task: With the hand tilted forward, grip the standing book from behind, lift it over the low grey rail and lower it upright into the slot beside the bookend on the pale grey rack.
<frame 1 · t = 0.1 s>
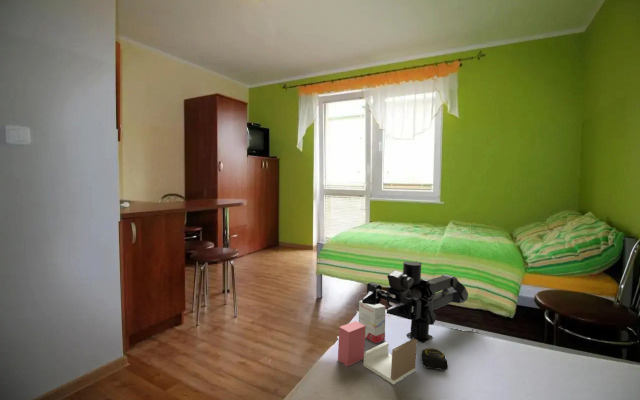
hand: (374, 306, 91), 17 cm above the table, fingers open, 9 cm apart
book: (350, 359, 92), on the table
ink box: (370, 337, 107), on the table
tape measure: (434, 367, 90), on the table
book rack: (389, 368, 88), on the table
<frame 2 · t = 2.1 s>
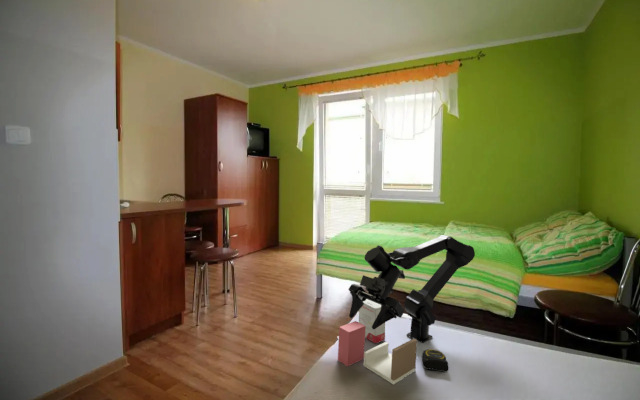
hand: (360, 322, 94), 10 cm above the table, fingers open, 9 cm apart
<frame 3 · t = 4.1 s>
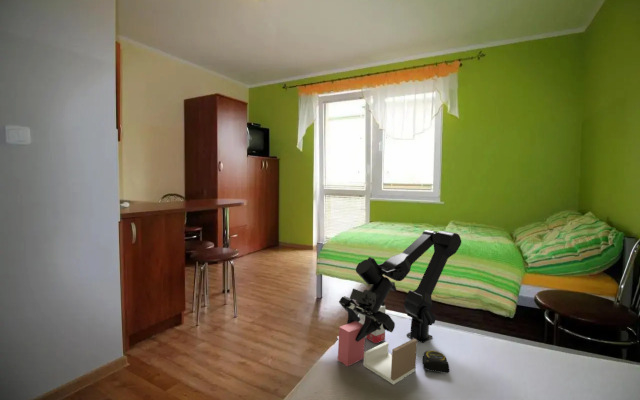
hand: (351, 337, 92), 7 cm above the table, fingers closed on book, 4 cm apart
book: (350, 359, 92), on the table, touching gripper
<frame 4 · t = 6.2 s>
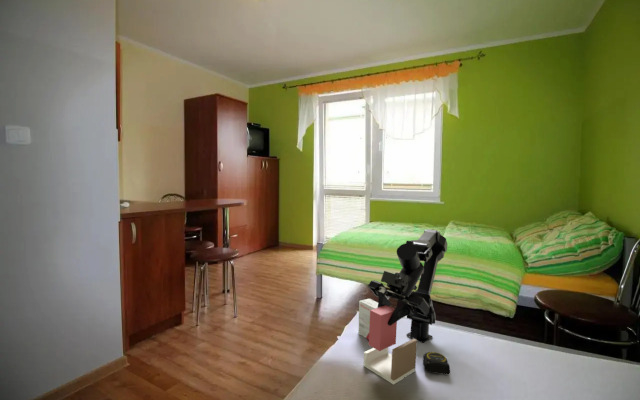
hand: (382, 321, 88), 13 cm above the table, fingers closed on book, 4 cm apart
book: (382, 344, 88), point 7 cm above the table, touching gripper
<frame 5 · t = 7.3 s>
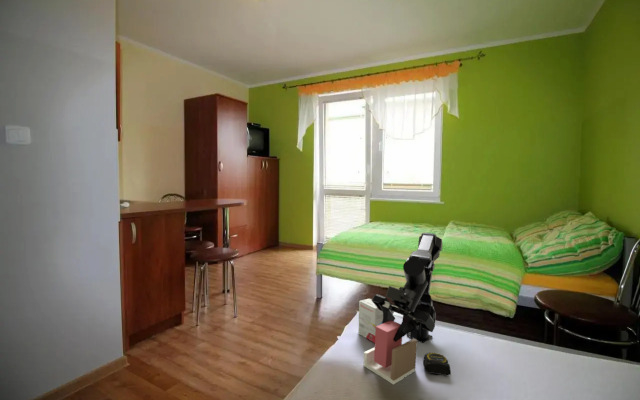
hand: (387, 337, 87), 9 cm above the table, fingers closed on book, 4 cm apart
book: (387, 360, 88), point 3 cm above the table, touching gripper
when the fingers open (9 cm above the table, at t = 8.1 s): book drops 1 cm, resting on book rack.
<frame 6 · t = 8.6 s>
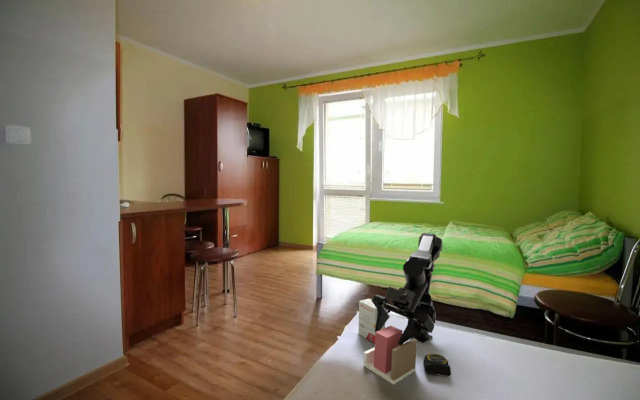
hand: (387, 338, 87), 9 cm above the table, fingers open, 8 cm apart
book: (387, 365, 88), point 1 cm above the table, touching book rack
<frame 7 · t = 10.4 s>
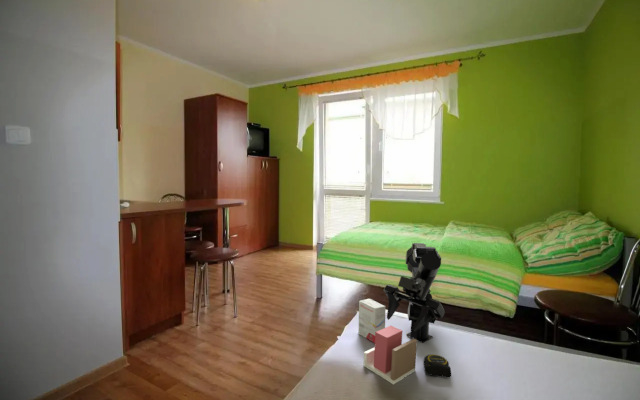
hand: (400, 324, 93), 11 cm above the table, fingers open, 9 cm apart
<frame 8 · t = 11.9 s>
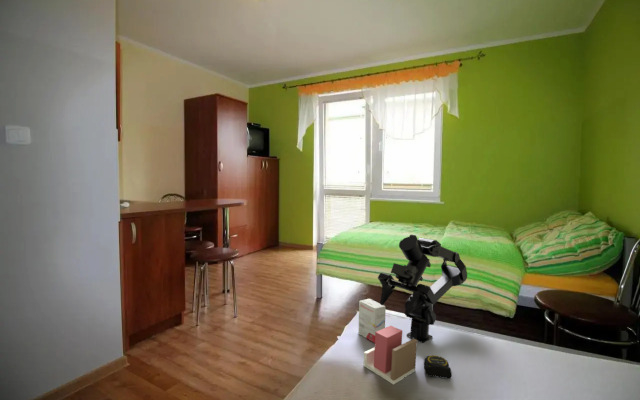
hand: (392, 309, 97), 14 cm above the table, fingers open, 9 cm apart
at the end: book 0.9 cm off-centre on the book rack, point 1.0 cm above the book rack's base; book tilted 0°; the gripper is holding nothing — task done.
